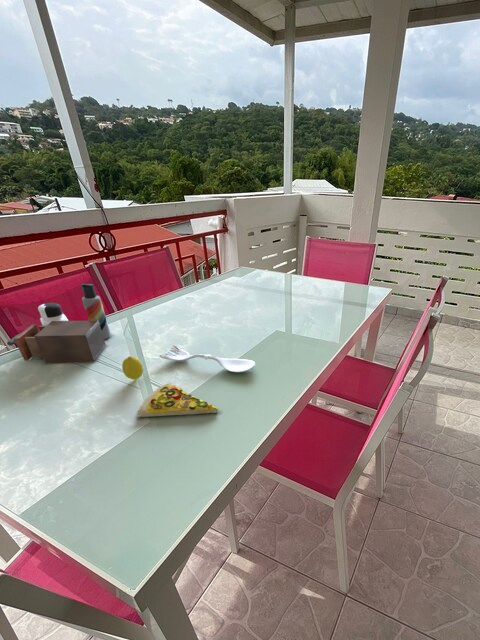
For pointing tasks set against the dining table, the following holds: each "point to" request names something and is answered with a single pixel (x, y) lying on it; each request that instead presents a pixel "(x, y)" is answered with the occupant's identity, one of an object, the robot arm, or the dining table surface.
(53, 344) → the cabinet
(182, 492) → the dining table surface
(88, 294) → the lotion bottle
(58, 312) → the container
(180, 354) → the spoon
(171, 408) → the pizza slice
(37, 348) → the drawer
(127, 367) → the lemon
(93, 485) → the dining table surface
